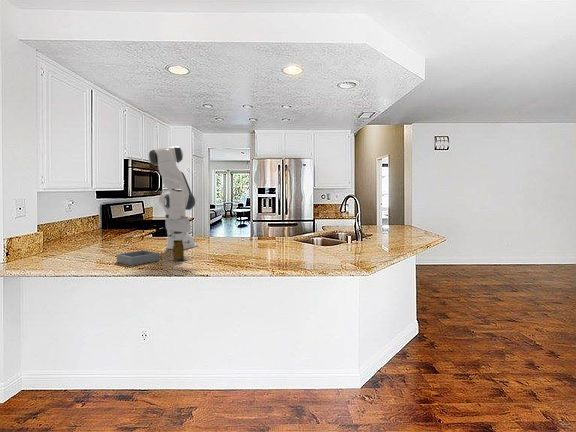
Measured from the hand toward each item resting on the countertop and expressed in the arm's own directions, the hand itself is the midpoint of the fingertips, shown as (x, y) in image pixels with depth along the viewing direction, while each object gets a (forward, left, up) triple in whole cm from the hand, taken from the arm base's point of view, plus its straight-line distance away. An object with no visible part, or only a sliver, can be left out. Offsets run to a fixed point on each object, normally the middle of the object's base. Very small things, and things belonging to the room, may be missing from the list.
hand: (178, 239), depth 256 cm
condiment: (-1, 0, -13) cm, 13 cm away
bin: (+17, -16, -13) cm, 27 cm away
